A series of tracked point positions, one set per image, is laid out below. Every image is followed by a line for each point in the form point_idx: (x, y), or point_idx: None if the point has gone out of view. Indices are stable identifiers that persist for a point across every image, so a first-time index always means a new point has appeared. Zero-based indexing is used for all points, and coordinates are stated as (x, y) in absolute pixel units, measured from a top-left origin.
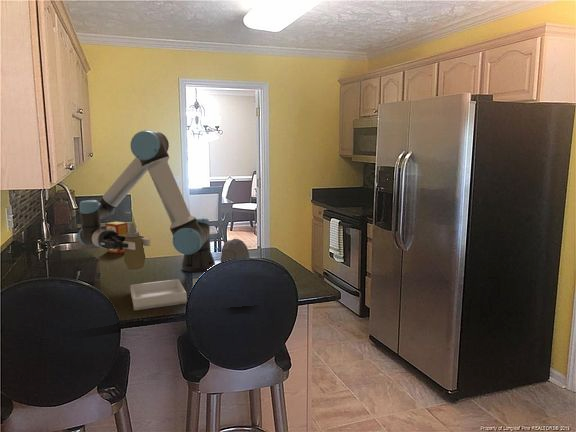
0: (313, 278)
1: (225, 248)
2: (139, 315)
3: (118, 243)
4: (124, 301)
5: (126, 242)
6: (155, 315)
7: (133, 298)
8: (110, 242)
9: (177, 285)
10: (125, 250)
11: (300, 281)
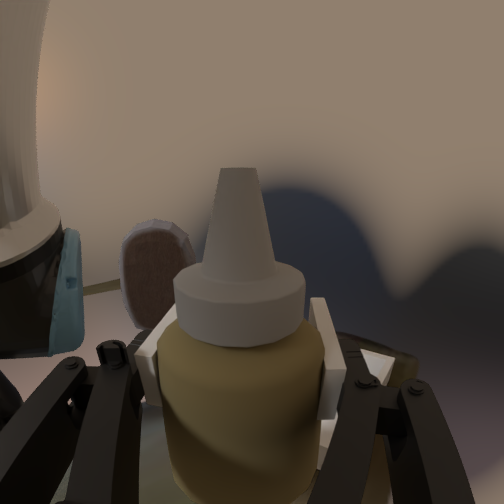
0: (99, 285)
1: (183, 235)
2: None
3: (383, 392)
4: (379, 441)
5: (336, 340)
6: (366, 346)
7: (393, 360)
8: (450, 438)
9: None
10: (321, 420)
11: (113, 289)
